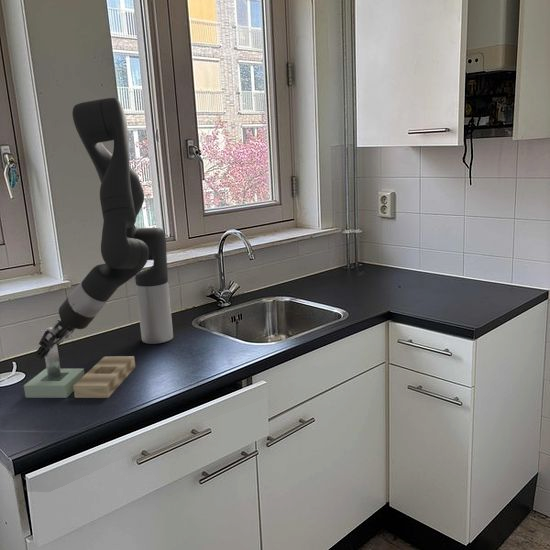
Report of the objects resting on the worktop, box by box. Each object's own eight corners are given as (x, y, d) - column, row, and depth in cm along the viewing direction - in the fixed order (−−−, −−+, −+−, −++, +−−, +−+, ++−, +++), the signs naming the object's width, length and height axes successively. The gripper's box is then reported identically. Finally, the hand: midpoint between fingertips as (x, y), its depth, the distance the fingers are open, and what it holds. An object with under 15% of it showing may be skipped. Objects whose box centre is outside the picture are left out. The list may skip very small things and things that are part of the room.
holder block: (47, 379, 139) (45, 368, 139) (85, 379, 138) (83, 368, 138) (25, 397, 130) (23, 385, 129) (66, 397, 129) (64, 385, 128)
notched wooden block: (105, 367, 146) (104, 356, 145) (135, 367, 145) (134, 356, 144) (74, 397, 128) (73, 385, 128) (108, 397, 127) (106, 385, 127)
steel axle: (51, 373, 135) (44, 326, 132) (63, 373, 134) (56, 326, 132) (45, 378, 132) (38, 330, 129) (57, 378, 132) (50, 330, 129)
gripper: (87, 285, 134) (48, 333, 139) (54, 301, 120) (12, 353, 125) (110, 306, 134) (70, 353, 139) (79, 325, 121) (37, 376, 126)
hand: (43, 353), depth 132 cm, fingers closed on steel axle, 3 cm apart
